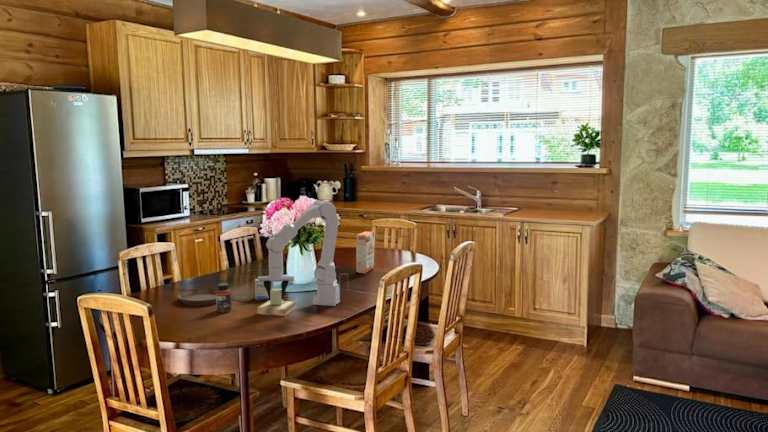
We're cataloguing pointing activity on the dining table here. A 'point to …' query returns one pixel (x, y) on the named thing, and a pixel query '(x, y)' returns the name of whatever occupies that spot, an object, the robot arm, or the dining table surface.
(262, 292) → the medicine box
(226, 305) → the supplement bottle
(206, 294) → the plant saucer
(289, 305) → the plinth
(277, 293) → the block
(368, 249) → the cracker box
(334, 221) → the robot arm
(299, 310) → the dining table surface
